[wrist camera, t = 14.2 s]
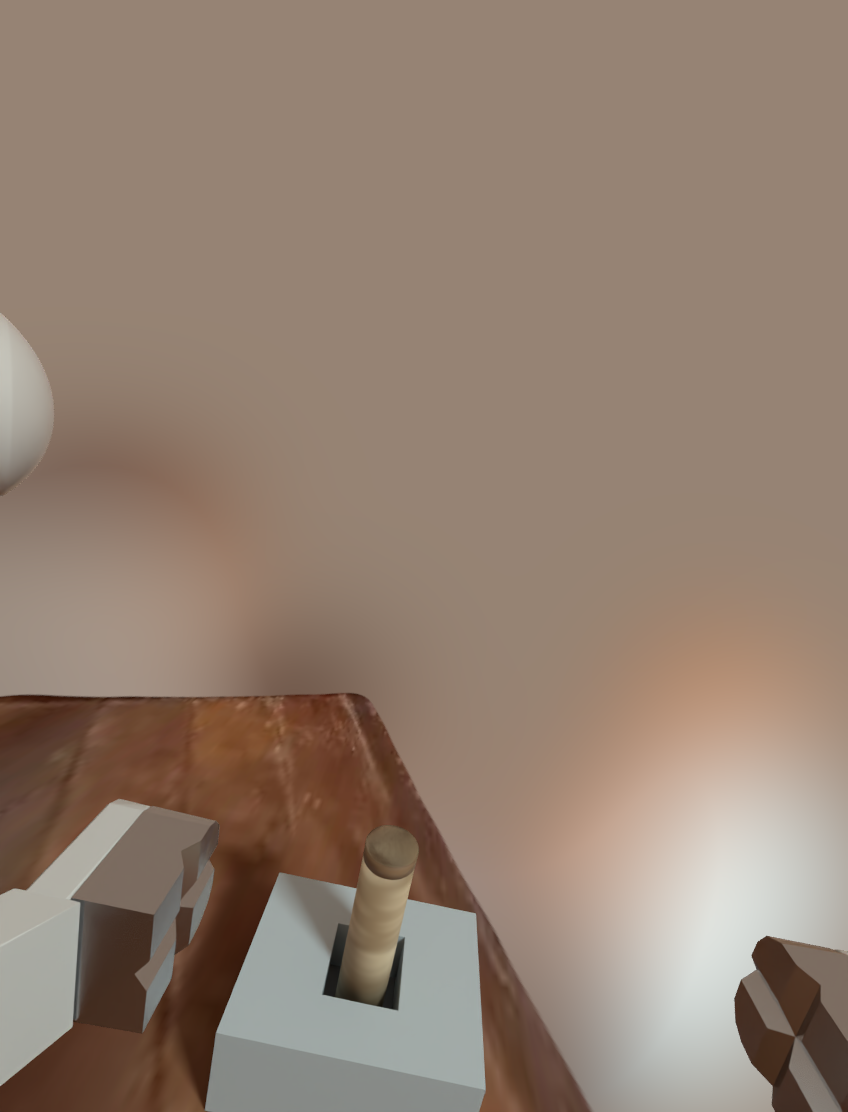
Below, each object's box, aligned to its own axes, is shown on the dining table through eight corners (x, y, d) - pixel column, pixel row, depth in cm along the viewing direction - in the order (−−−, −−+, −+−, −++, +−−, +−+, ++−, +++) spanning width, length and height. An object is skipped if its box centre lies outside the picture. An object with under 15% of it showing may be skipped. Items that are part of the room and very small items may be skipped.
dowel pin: (322, 1016, 31) (355, 850, 28) (349, 972, 34) (381, 817, 31) (366, 1046, 30) (405, 877, 27) (389, 997, 33) (426, 840, 30)
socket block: (204, 1110, 27) (216, 1032, 26) (269, 934, 37) (279, 872, 36) (462, 1165, 27) (485, 1090, 26) (459, 974, 37) (475, 913, 36)
